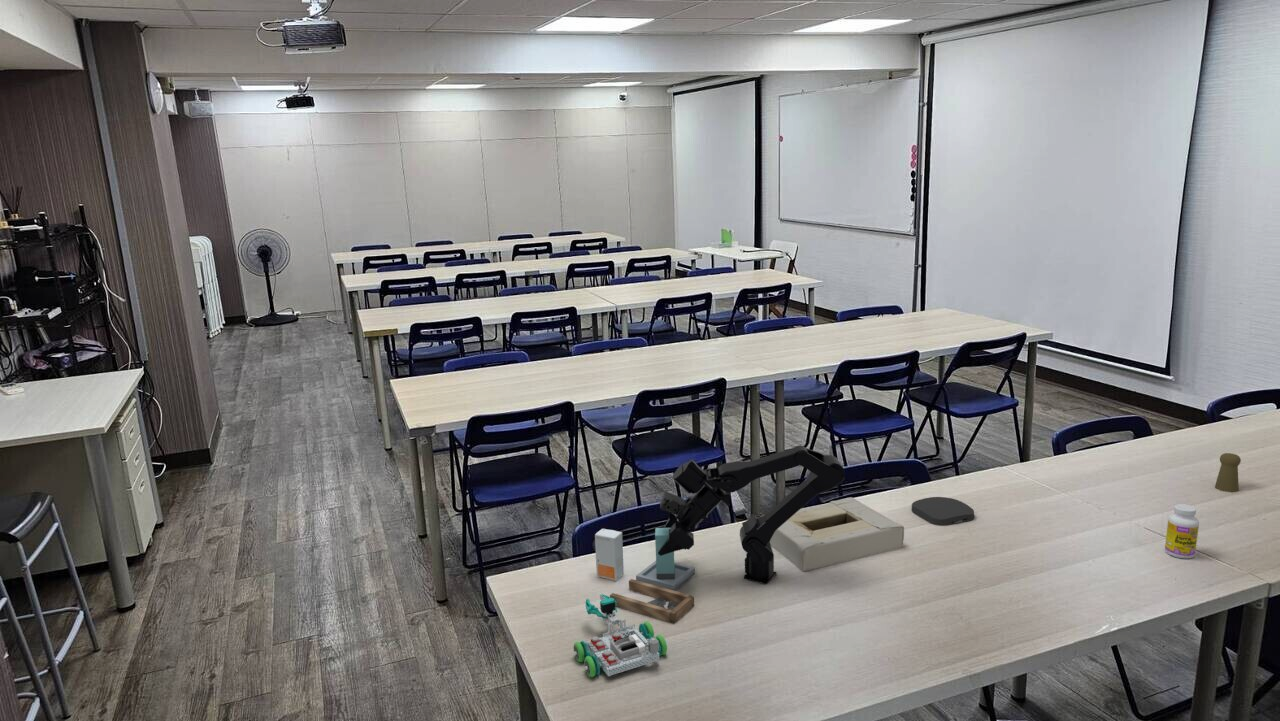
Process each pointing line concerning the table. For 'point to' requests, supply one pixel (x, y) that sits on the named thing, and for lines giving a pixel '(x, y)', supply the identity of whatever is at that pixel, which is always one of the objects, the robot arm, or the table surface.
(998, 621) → the table surface
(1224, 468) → the cork
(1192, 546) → the supplement bottle
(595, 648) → the robot kit
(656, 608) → the slot rail
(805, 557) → the box
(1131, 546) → the table surface
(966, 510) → the media streaming box
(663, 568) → the tall teal block
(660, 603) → the set of grey tiles
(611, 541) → the skincare box
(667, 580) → the tray
